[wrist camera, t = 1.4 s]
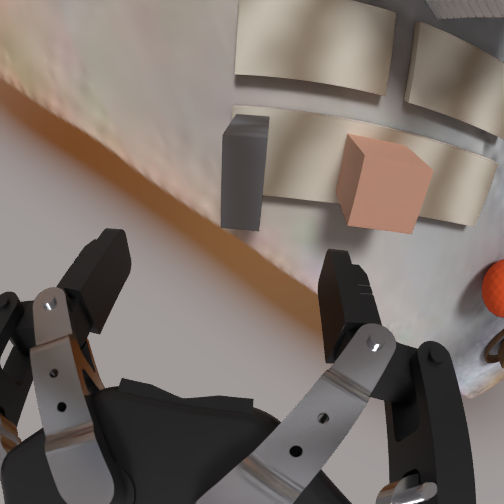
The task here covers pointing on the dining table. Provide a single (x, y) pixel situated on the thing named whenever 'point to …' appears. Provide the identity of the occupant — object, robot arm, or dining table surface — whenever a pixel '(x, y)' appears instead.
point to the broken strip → (369, 56)
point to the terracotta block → (381, 184)
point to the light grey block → (466, 8)
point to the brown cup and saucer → (502, 352)
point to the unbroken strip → (332, 164)
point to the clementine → (494, 289)
